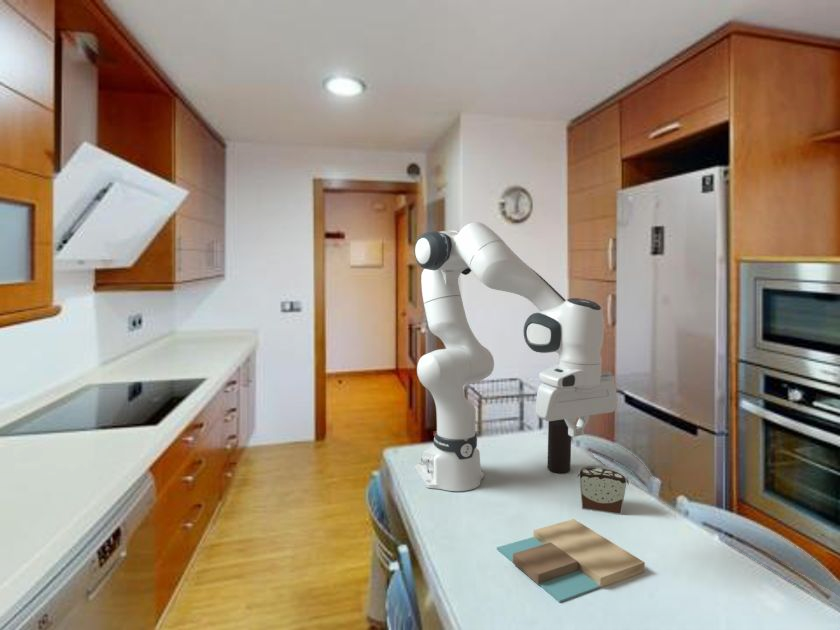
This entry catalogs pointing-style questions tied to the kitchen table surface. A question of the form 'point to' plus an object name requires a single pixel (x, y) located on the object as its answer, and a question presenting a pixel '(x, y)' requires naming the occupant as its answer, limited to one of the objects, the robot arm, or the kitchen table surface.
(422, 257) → the robot arm
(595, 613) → the kitchen table surface
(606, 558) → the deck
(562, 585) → the mat
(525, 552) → the tile
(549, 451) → the bottle
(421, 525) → the kitchen table surface
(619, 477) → the cake slice
